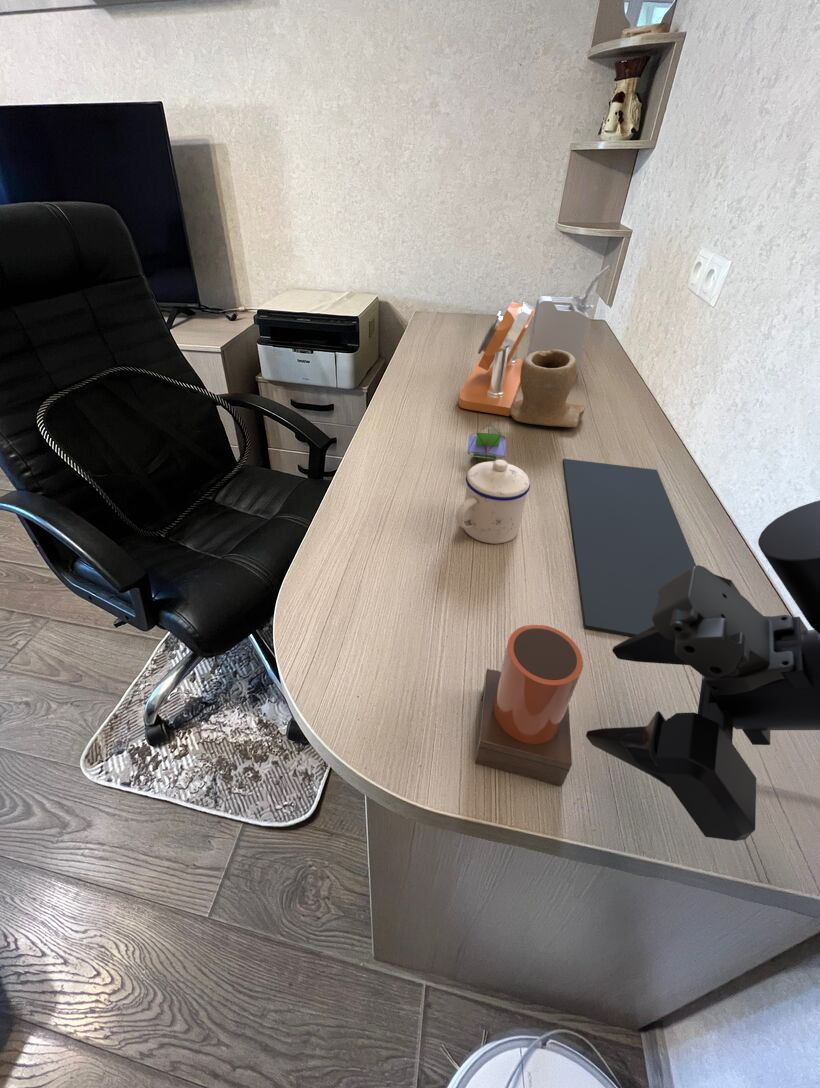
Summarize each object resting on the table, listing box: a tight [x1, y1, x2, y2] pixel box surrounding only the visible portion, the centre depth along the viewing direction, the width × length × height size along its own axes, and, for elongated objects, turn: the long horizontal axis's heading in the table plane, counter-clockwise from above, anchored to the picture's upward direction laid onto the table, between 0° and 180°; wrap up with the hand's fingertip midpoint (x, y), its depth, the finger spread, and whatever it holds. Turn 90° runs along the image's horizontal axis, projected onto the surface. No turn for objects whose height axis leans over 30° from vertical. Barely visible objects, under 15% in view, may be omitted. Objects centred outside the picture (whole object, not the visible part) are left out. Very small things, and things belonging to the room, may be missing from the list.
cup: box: [493, 623, 584, 744], centre depth 45 cm, size 6×6×9 cm
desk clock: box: [458, 301, 535, 417], centre depth 115 cm, size 12×30×20 cm, turn 159°
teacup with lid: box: [455, 459, 531, 545], centre depth 73 cm, size 12×9×12 cm
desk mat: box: [562, 458, 697, 638], centre depth 75 cm, size 40×16×1 cm, turn 166°
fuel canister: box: [526, 265, 612, 372], centre depth 124 cm, size 15×5×25 cm, turn 80°
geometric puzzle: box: [466, 423, 507, 462], centre depth 91 cm, size 7×7×8 cm
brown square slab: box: [474, 668, 573, 787], centre depth 49 cm, size 8×8×4 cm
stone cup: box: [509, 349, 586, 428], centre depth 102 cm, size 15×12×15 cm
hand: (603, 692), depth 41 cm, fingers open, 9 cm apart
